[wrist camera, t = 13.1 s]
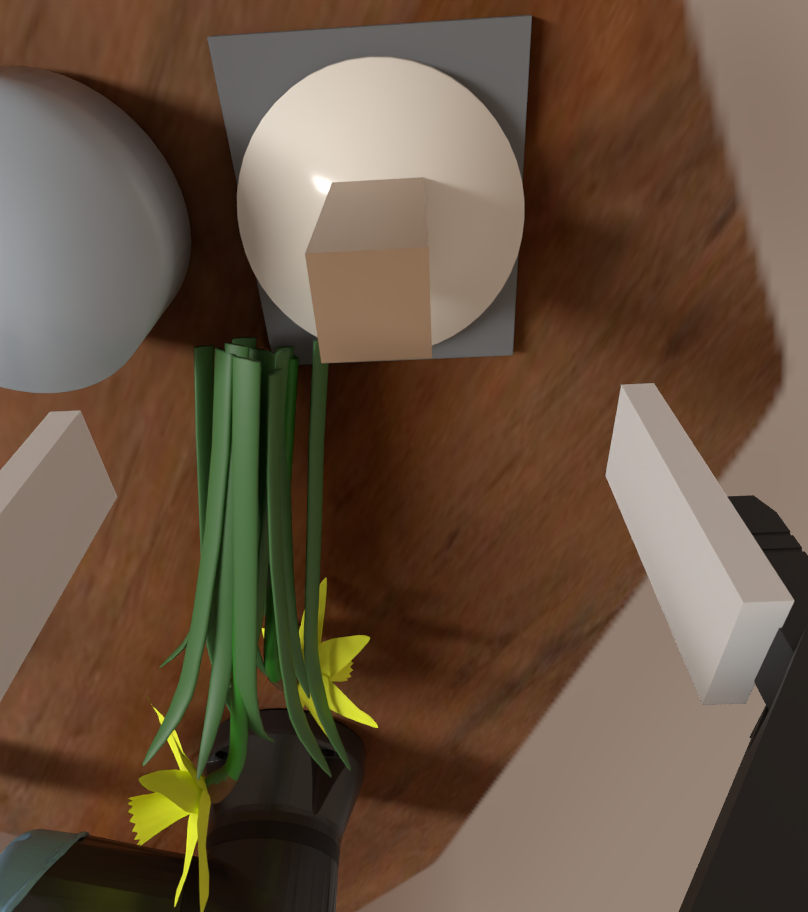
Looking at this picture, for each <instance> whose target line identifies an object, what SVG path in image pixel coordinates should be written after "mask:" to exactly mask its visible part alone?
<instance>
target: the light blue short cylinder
mask: <svg viewBox="0 0 808 912" xmlns="http://www.w3.org/2000/svg"><path fill="white" fill-rule="evenodd" d="M190 255H191V228H190V222H189V216H188V211H187V207H186V204H185V201H184V198H183V195H182V191H181V189H180V187H179V185H178V182H177V180H176V178H175V176H174V174H173V172H172V170H171V168H170V167H169V165H168V163H167V162H166V160H165V158H164V156H163V155H162V154H161V152H160V151H159V149H158V148H157V147H156V145H155V144H154V143H153V141H152V140H151V139H150V137H149V136H148V135H147V134H146V133H145V132H144V131H143V130H142V129H141V127H140V126H139V125H138V124H137V123H136V122H135V121H134V120H133V119H132V118H131V117H129V116H128V115H127V114H126V113H125V112H124V111H123V110H122V109H121V108H119V107H118V106H117V105H115V104H114V103H113V102H111V101H110V100H108V99H107V98H106V97H104V96H103V95H102V94H100V93H98V92H96V91H95V90H93V89H91V88H89V87H88V86H86V85H84V84H82V83H80V82H78V81H76V80H73V79H71V78H69V77H66V76H64V75H61V74H58V73H55V72H51V71H48V70H45V69H39V68H33V67H27V66H0V387H3V388H8V389H12V390H17V391H25V392H33V393H58V392H68V391H73V390H77V389H81V388H85V387H88V386H91V385H93V384H96V383H98V382H100V381H102V380H104V379H106V378H107V377H109V376H111V375H112V374H114V373H115V372H116V371H117V370H118V369H120V368H121V367H122V366H123V365H124V364H125V363H126V362H127V361H128V360H129V358H130V357H131V356H132V355H133V354H134V352H135V351H136V350H137V348H138V347H139V346H140V344H141V343H142V341H143V340H144V339H145V337H146V336H147V335H148V333H149V332H150V331H151V329H152V328H153V327H154V325H155V324H156V323H157V321H158V320H159V318H160V317H161V316H162V314H163V313H164V312H165V310H166V309H167V308H168V306H169V305H170V304H171V302H172V301H173V300H174V298H175V297H176V295H177V293H178V292H179V290H180V288H181V287H182V284H183V282H184V279H185V277H186V274H187V271H188V266H189V262H190Z"/></svg>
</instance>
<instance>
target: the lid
mask: <svg viewBox="0 0 808 912" xmlns="http://www.w3.org/2000/svg"><path fill="white" fill-rule="evenodd" d="M237 217H238V224H239V230H240V236H241V239H242V243H243V247H244V250H245V253H246V256H247V258H248V261H249V263H250V266H251V268H252V270H253V272H254V274H255V276H256V277H257V279H258V281H259V283H260V284H261V286H262V287H263V289H264V290H265V292H266V293H267V294H268V296H269V297H270V298H271V300H272V301H273V302H274V303H275V304H276V305H277V306H278V307H279V308H280V310H281V311H282V312H283V313H284V314H285V315H287V316H288V317H289V318H290V319H291V320H292V321H294V322H295V323H296V324H297V325H299V326H300V327H302V328H303V329H305V330H306V331H308V332H309V333H310V334H312V335H314V336H316V337H318V344H319V350H320V357H321V363H338V362H360V361H382V360H404V359H426V358H432V345H434V344H437V343H440V342H442V341H444V340H446V339H448V338H450V337H452V336H454V335H455V334H457V333H458V332H460V331H461V330H463V329H464V328H466V327H467V326H468V325H470V324H471V323H472V322H473V321H474V320H475V319H477V318H478V317H479V316H480V315H481V314H482V313H483V312H484V311H485V310H486V309H487V308H488V307H489V305H490V304H491V303H492V302H493V301H494V299H495V298H496V296H497V295H498V294H499V292H500V291H501V289H502V288H503V286H504V284H505V282H506V281H507V279H508V277H509V275H510V273H511V271H512V268H513V266H514V263H515V261H516V258H517V256H518V252H519V248H520V244H521V240H522V234H523V226H524V193H523V185H522V179H521V175H520V171H519V168H518V164H517V160H516V158H515V155H514V153H513V151H512V148H511V146H510V143H509V141H508V139H507V138H506V136H505V134H504V132H503V131H502V129H501V127H500V126H499V124H498V122H497V121H496V119H495V118H494V116H493V115H492V114H491V113H490V111H489V110H488V109H487V108H486V106H485V105H484V104H483V102H482V101H481V100H480V99H479V98H478V97H476V96H475V95H474V94H473V93H472V92H471V91H470V90H469V89H468V88H467V87H466V86H464V85H463V84H461V83H460V82H459V81H457V80H456V79H454V78H453V77H452V76H450V75H448V74H446V73H444V72H442V71H440V70H438V69H437V68H435V67H433V66H430V65H427V64H424V63H421V62H418V61H415V60H412V59H407V58H401V57H395V56H377V55H369V56H362V57H355V58H349V59H345V60H342V61H339V62H336V63H332V64H329V65H327V66H325V67H323V68H321V69H319V70H317V71H315V72H313V73H311V74H309V75H308V76H307V77H305V78H304V79H302V80H301V81H299V82H298V83H296V84H295V85H294V86H293V87H291V88H290V89H289V90H288V91H287V92H286V93H285V94H284V95H283V96H282V97H281V98H280V99H279V100H278V101H277V102H275V103H274V105H273V106H272V107H271V109H270V110H269V111H268V112H267V114H266V115H265V116H264V117H263V119H262V120H261V122H260V124H259V125H258V127H257V129H256V131H255V132H254V134H253V136H252V138H251V140H250V143H249V145H248V148H247V150H246V152H245V155H244V158H243V162H242V166H241V170H240V174H239V181H238V190H237Z"/></svg>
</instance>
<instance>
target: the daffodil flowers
mask: <svg viewBox="0 0 808 912" xmlns="http://www.w3.org/2000/svg"><path fill="white" fill-rule="evenodd" d="M256 339H257V338H256V337H237V338H232V343H225V349H222V348H215V373H214V345H201V346H196V347H194V374H195V419H196V450H197V474H198V498H199V523H200V549H201V560H200V567H199V574H198V581H197V588H196V595H195V602H194V609H193V615H192V622H191V627H190V631H189V633H188V634H187V636H186V638H185V640H184V641H183V642H182V643H181V645H180V646H179V647H178V648H177V649H176V650H175V651H174V652H173V653H172V654H171V655H170V656H169V657H168V658H167V659H166V660H165V662H164V663H163V664H162V665H161V666H160V668H161V667H162V666H164V665H165V664H167V663H168V662H169V661H171V660H172V659H174V658H175V657H176V656H177V655H178V654H179V653H180V652H181V651H182V650H184V649H185V648H186V652H185V658H184V663H183V668H182V672H181V676H180V680H179V683H178V686H177V689H176V692H175V695H174V697H173V700H172V703H171V705H170V708H169V710H168V712H167V714H166V716H165V718H164V717H163V716H162V715H161V714H160V713H159V712H158V711H157V710H156V709H155V708H154V707H153V708H154V709H155V711H156V713H157V714H158V716H159V717H160V718H159V721H160V723H161V726H160V728H159V731H158V733H157V735H156V736H155V738H154V740H153V742H152V744H151V746H150V748H149V750H148V752H147V755H146V757H145V759H144V762H143V766H144V765H145V764H146V763H147V762H148V761H149V760H150V759H151V758H152V757H153V756H154V755H155V754H156V753H157V751H158V750H159V749H160V748H161V747H162V746H163V744H164V743H165V742H166V741H167V740H168V742H169V744H170V747H171V749H172V751H173V753H174V755H175V758H176V760H177V762H178V765H179V767H180V770H161V771H156V772H152V773H150V774H147V775H144V776H142V777H140V778H139V782H140V783H141V784H142V785H143V786H144V787H145V788H147V789H148V790H150V791H153V792H156V793H152V794H147V795H141V796H135V797H129V799H130V800H132V801H131V802H129V803H128V805H131V806H133V807H132V808H131V809H130V810H129V811H128V812H129V813H131V814H134V815H133V817H132V818H131V820H130V822H132V823H135V826H134V828H133V830H132V831H133V832H138V834H137V836H136V838H135V839H134V840H136V839H140V841H139V843H138V844H140V846H141V845H142V844H144V843H145V842H146V841H148V840H149V839H150V838H152V837H153V836H154V835H156V834H157V833H158V832H160V831H161V830H163V829H165V828H166V827H168V826H169V825H171V824H172V823H174V822H175V821H177V820H179V819H181V818H182V817H184V816H186V815H189V814H190V817H189V820H188V831H187V846H186V856H185V863H184V871H183V875H182V877H181V880H180V883H179V885H178V888H177V891H176V896H175V904H174V907H175V906H176V904H177V901H178V898H179V895H180V892H181V890H182V887H183V884H184V882H185V879H186V876H187V873H188V870H189V866H190V862H191V859H192V855H193V851H194V848H195V844H196V841H197V839H198V852H199V891H200V912H204V908H205V905H206V902H207V899H208V896H209V871H208V863H207V854H206V836H207V828H208V819H209V812H210V805H211V803H219V802H221V801H222V800H223V799H224V798H225V797H226V796H227V795H228V794H229V793H230V792H231V791H232V789H233V787H234V786H235V784H236V783H237V781H238V780H239V776H240V774H241V772H242V769H243V767H244V764H245V759H246V754H247V741H248V728H249V729H250V730H252V731H253V732H254V733H255V734H256V735H258V736H259V737H260V738H262V739H265V740H268V741H271V742H274V740H273V739H272V738H270V737H269V736H268V735H267V733H266V732H265V731H264V728H263V724H262V720H261V717H260V712H259V706H258V698H257V667H258V668H259V669H260V670H261V671H262V672H263V673H264V674H265V675H266V676H268V679H269V680H270V682H271V683H272V684H273V685H274V686H275V687H276V688H277V689H279V690H281V691H284V693H285V699H286V705H287V709H288V713H289V717H290V720H291V722H292V724H293V727H294V729H295V731H296V733H297V735H298V738H299V739H300V741H301V742H302V744H303V745H304V746H305V748H306V749H307V751H308V752H309V754H310V755H311V756H312V758H313V759H314V760H315V761H316V762H317V763H318V764H319V766H320V767H321V768H322V769H323V770H324V771H325V772H326V773H327V774H328V775H329V776H330V777H332V775H331V772H330V769H329V767H328V764H327V762H326V760H325V758H324V756H323V754H322V752H321V750H320V748H319V746H318V744H317V742H316V740H315V737H314V735H313V733H312V731H311V729H310V727H309V725H308V722H307V719H306V716H305V713H304V710H303V707H304V706H305V705H306V706H307V708H308V709H309V711H310V712H311V714H312V716H313V717H314V719H315V720H316V722H317V723H318V725H319V726H320V728H321V729H322V730H323V732H324V733H325V734H326V736H327V737H328V738H329V740H330V742H331V744H332V745H333V747H334V748H335V750H336V751H337V753H338V755H339V756H340V758H341V759H342V761H343V762H344V763H345V765H346V766H347V768H348V769H349V770H351V767H350V763H349V760H348V756H347V754H346V751H345V749H344V746H343V744H342V741H341V739H340V736H339V734H338V731H337V728H336V725H335V722H334V720H333V717H332V714H331V711H330V709H331V710H333V711H335V712H337V713H339V714H341V715H343V716H345V717H347V718H350V719H352V720H355V721H357V722H360V723H363V724H366V725H369V726H372V727H374V728H378V726H377V724H376V722H375V721H374V720H373V719H372V718H371V717H370V716H369V715H367V714H366V713H364V712H363V711H361V710H359V709H358V708H357V707H356V706H355V705H354V704H353V703H352V702H351V701H350V700H349V699H348V698H347V697H346V696H345V695H344V694H343V693H342V692H341V691H340V690H339V689H338V688H337V687H336V686H335V685H334V684H333V683H332V682H343V681H348V680H347V678H349V677H351V675H350V674H349V673H350V672H352V671H353V669H352V668H350V666H351V665H352V664H353V662H352V661H351V660H352V659H353V658H354V657H355V656H356V655H357V654H358V653H359V652H360V651H361V650H362V649H363V648H364V646H365V645H366V644H367V643H368V642H369V640H370V637H368V636H364V635H355V636H348V637H341V638H333V639H330V640H327V641H325V642H322V643H321V638H322V629H323V621H324V612H325V604H326V591H327V578H326V577H325V579H324V580H323V581H322V582H321V584H320V559H321V530H322V498H323V464H324V433H325V416H326V399H327V382H328V365H329V363H321V357H320V350H319V344H318V339H316V340H314V341H313V357H312V378H311V399H310V420H309V441H308V489H307V539H306V579H305V610H304V613H303V617H302V621H301V626H300V630H298V622H297V612H296V599H295V586H294V569H293V542H292V513H291V478H292V461H293V445H294V429H295V412H296V396H297V380H298V363H299V358H298V357H297V356H295V355H294V346H281V347H277V348H276V354H275V353H272V352H270V351H268V350H264V349H259V348H256ZM263 615H265V628H262V622H263ZM261 628H262V632H263V637H264V662H263V660H262V657H261V654H260V650H259V646H258V641H259V637H260V633H261ZM205 641H206V643H207V644H206V647H207V649H208V654H209V657H210V661H211V664H212V670H211V678H210V686H209V694H208V702H207V706H206V707H207V709H206V715H205V721H204V728H203V734H202V740H201V746H200V753H199V759H198V766H197V769H196V768H195V767H194V765H193V764H192V763H191V761H190V760H189V759H188V757H187V756H186V755H185V754H184V752H183V750H182V748H181V745H180V742H179V739H178V736H177V733H176V731H175V730H174V729H175V728H176V727H177V725H178V724H179V722H180V721H181V719H182V717H183V715H184V713H185V711H186V709H187V707H188V705H189V703H190V701H191V699H192V696H193V693H194V690H195V686H196V683H197V678H198V674H199V669H200V664H201V659H202V655H203V650H204V646H205ZM231 673H232V677H231ZM146 696H147V695H146ZM147 698H148V697H147ZM148 700H149V699H148ZM149 701H150V700H149ZM150 703H151V702H150ZM225 703H226V705H227V707H228V709H229V711H230V713H231V716H230V748H229V755H228V758H227V761H226V763H225V764H224V765H223V766H222V768H220V769H218V770H216V771H214V772H212V773H210V774H209V775H208V776H207V777H205V776H204V775H203V774H202V772H203V770H204V768H205V765H206V763H207V760H208V757H209V755H210V752H211V749H212V747H213V744H214V741H215V738H216V734H217V731H218V728H219V724H220V721H221V718H222V714H223V711H224V707H225ZM206 707H205V708H206ZM274 743H275V742H274ZM138 844H137V845H138ZM140 846H139V847H140Z"/></svg>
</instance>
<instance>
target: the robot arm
mask: <svg viewBox="0 0 808 912" xmlns="http://www.w3.org/2000/svg"><path fill="white" fill-rule="evenodd" d="M606 478H607V480H608V483H609V485H610V487H611V490H612V492H613V494H614V497H615V499H616V501H617V504H618V506H619V509H620V511H621V513H622V516H623V518H624V520H625V523H626V525H627V528H628V530H629V532H630V535H631V537H632V539H633V542H634V544H635V547H636V549H637V551H638V554H639V556H640V558H641V561H642V563H643V565H644V568H645V570H646V573H647V575H648V577H649V580H650V582H651V584H652V587H653V589H654V592H655V594H656V596H657V599H658V601H659V603H660V605H661V608H662V610H663V613H664V615H665V617H666V620H667V622H668V625H669V627H670V629H671V632H672V634H673V637H674V639H675V641H676V644H677V646H678V648H679V651H680V653H681V656H682V658H683V660H684V663H685V665H686V667H687V670H688V672H689V674H690V677H691V679H692V681H693V684H694V686H695V689H696V691H697V693H698V696H699V698H700V701H701V703H702V705H717V704H746V702H747V700H748V698H749V696H750V694H751V692H752V689H753V687H754V685H755V684H756V686H757V688H758V690H759V692H760V694H761V696H762V698H763V700H764V702H765V703H766V706H765V709H764V710H763V712H762V714H761V716H760V718H759V720H758V722H757V724H756V726H755V728H754V730H753V732H752V734H751V736H750V738H751V740H750V743H749V745H748V747H747V750H746V752H745V755H744V757H743V760H742V762H741V764H740V767H739V769H738V772H737V774H736V776H735V779H734V781H733V783H732V786H731V788H730V791H729V793H728V796H727V798H726V800H725V802H724V805H723V807H722V810H721V812H720V815H719V817H718V819H717V821H716V824H715V826H714V829H713V831H712V833H711V836H710V838H709V841H708V843H707V845H706V848H705V850H704V853H703V855H702V857H701V860H700V862H699V864H698V867H697V869H696V872H695V874H694V876H693V879H692V881H691V884H690V886H689V888H688V891H687V893H686V896H685V898H684V900H683V903H682V905H681V908H680V910H679V912H808V555H807V554H806V553H805V552H802V547H801V546H800V544H799V543H798V542H797V540H796V539H795V537H794V536H793V535H790V530H789V529H788V528H787V526H786V525H785V524H784V522H783V521H782V519H781V518H780V517H779V515H778V514H777V512H775V511H774V510H773V509H771V508H770V507H769V506H767V505H766V504H764V503H763V502H761V501H760V500H759V499H758V498H756V497H755V496H729V497H727V495H726V494H725V492H724V491H723V489H722V488H721V486H720V485H719V483H718V482H717V480H716V478H715V477H714V475H713V474H712V472H711V471H710V469H709V468H708V466H707V465H706V463H705V461H704V460H703V458H702V457H701V455H700V454H699V452H698V451H697V449H696V448H695V446H694V444H693V443H692V441H691V440H690V438H689V437H688V435H687V434H686V432H685V431H684V429H683V427H682V426H681V424H680V423H679V421H678V420H677V418H676V417H675V415H674V414H673V412H672V410H671V409H670V407H669V406H668V404H667V403H666V401H665V400H664V398H663V397H662V395H661V393H660V392H659V390H658V389H657V387H656V386H655V384H654V383H648V384H627V385H621V390H620V396H619V401H618V407H617V413H616V419H615V424H614V430H613V436H612V442H611V447H610V453H609V459H608V464H607V470H606ZM116 498H117V495H116V493H115V490H114V488H113V486H112V483H111V481H110V479H109V476H108V474H107V472H106V469H105V467H104V464H103V462H102V460H101V457H100V455H99V453H98V450H97V448H96V446H95V443H94V441H93V439H92V436H91V434H90V432H89V429H88V427H87V425H86V422H85V420H84V418H83V415H82V413H81V411H61V412H49V414H48V415H47V416H46V417H45V418H44V419H43V421H42V422H41V423H40V424H39V425H38V427H37V428H36V429H35V430H34V431H33V432H32V434H31V435H30V436H29V437H28V438H27V440H26V441H25V442H24V443H23V444H22V445H21V447H20V448H19V449H18V450H17V451H16V453H15V454H14V455H13V456H12V457H11V458H10V460H9V461H8V462H7V463H6V464H5V465H4V467H3V468H2V469H1V470H0V701H1V700H2V698H3V696H4V694H5V693H6V691H7V689H8V687H9V686H10V684H11V682H12V680H13V679H14V677H15V675H16V673H17V672H18V670H19V668H20V666H21V665H22V663H23V661H24V659H25V658H26V656H27V654H28V652H29V651H30V649H31V647H32V645H33V644H34V642H35V640H36V638H37V637H38V635H39V633H40V631H41V630H42V628H43V626H44V624H45V623H46V621H47V619H48V617H49V615H50V614H51V612H52V610H53V608H54V607H55V605H56V603H57V601H58V600H59V598H60V596H61V594H62V593H63V591H64V589H65V587H66V586H67V584H68V582H69V580H70V579H71V577H72V575H73V573H74V572H75V570H76V568H77V566H78V565H79V563H80V561H81V559H82V558H83V556H84V554H85V552H86V551H87V549H88V547H89V545H90V544H91V542H92V540H93V538H94V537H95V535H96V533H97V531H98V530H99V528H100V526H101V524H102V523H103V521H104V519H105V517H106V516H107V514H108V512H109V510H110V509H111V507H112V505H113V503H114V501H115V500H116ZM259 712H260V717H261V720H262V724H263V728H264V731H265V732H266V733H267V735H268V736H269V737H270V738H272V739H273V740H274V742H275V743H274V742H271V741H268V740H265V739H262V738H260V737H259V736H258V735H256V734H255V733H254V732H253V731H252V730H250V729H249V728H248V741H247V754H246V759H245V764H244V767H243V769H242V772H241V774H240V776H239V780H238V781H237V783H236V784H235V786H234V787H233V789H232V791H231V792H230V793H229V794H228V795H227V796H226V797H225V798H224V799H223V800H222V801H221V802H219V803H211V805H210V812H209V819H208V828H207V836H206V854H207V863H208V871H209V896H208V899H207V902H206V905H205V908H204V912H335V911H336V897H337V883H338V867H339V854H340V844H341V840H342V837H343V834H344V832H345V829H346V826H347V824H348V821H349V818H350V816H351V813H352V810H353V808H354V805H355V802H356V800H357V797H358V794H359V792H360V789H361V786H362V784H363V779H364V772H365V749H364V746H363V744H362V742H361V741H360V739H359V738H358V737H357V736H356V735H355V734H354V733H353V732H352V731H350V730H349V729H348V728H346V727H344V726H343V725H341V724H339V723H337V722H335V721H334V722H335V725H336V728H337V731H338V734H339V736H340V739H341V741H342V744H343V746H344V749H345V751H346V754H347V756H348V760H349V763H350V767H351V770H349V769H348V768H347V766H346V765H345V763H344V762H343V761H342V759H341V758H340V756H339V755H338V753H337V751H336V750H335V748H334V747H333V745H332V744H331V742H330V740H329V738H328V737H327V736H326V734H325V733H324V732H323V730H322V729H321V728H320V726H319V725H318V723H317V722H316V720H315V719H314V717H313V716H312V714H310V713H305V712H304V713H305V716H306V719H307V722H308V725H309V727H310V729H311V731H312V733H313V735H314V737H315V740H316V742H317V744H318V746H319V748H320V750H321V752H322V754H323V756H324V758H325V760H326V762H327V764H328V767H329V769H330V772H331V775H332V777H330V776H329V775H328V774H327V773H326V772H325V771H324V770H323V769H322V768H321V767H320V766H319V764H318V763H317V762H316V761H315V760H314V759H313V758H312V756H311V755H310V754H309V752H308V751H307V749H306V748H305V746H304V745H303V744H302V742H301V741H300V739H299V738H298V735H297V733H296V731H295V729H294V727H293V724H292V722H291V720H290V717H289V713H288V710H265V711H259ZM229 748H230V719H229V720H227V721H225V722H224V723H222V724H221V725H219V728H218V731H217V734H216V738H215V741H214V744H213V747H212V749H211V752H210V755H209V757H208V760H207V763H206V765H205V768H204V770H203V774H204V776H205V777H207V776H208V775H209V774H210V773H212V772H214V771H216V770H218V769H220V768H222V766H223V765H224V764H225V763H226V761H227V758H228V755H229ZM139 846H140V845H135V844H130V843H125V842H120V841H115V840H111V839H106V838H101V837H96V836H91V835H89V833H88V832H80V833H67V832H60V831H53V830H46V829H35V830H30V831H27V832H25V833H23V834H21V835H20V836H18V837H17V838H15V839H14V840H13V841H12V842H11V843H10V844H9V845H8V846H7V847H6V848H5V849H4V851H3V852H2V853H1V854H0V912H200V891H199V857H196V856H192V859H191V862H190V866H189V870H188V873H187V876H186V879H185V882H184V884H183V887H182V890H181V892H180V895H179V898H178V901H177V904H176V906H175V907H174V904H175V896H176V891H177V888H178V885H179V883H180V880H181V877H182V875H183V871H184V863H185V856H186V854H181V853H176V852H171V851H165V850H160V849H155V848H149V847H144V846H140V847H139Z"/></svg>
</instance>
